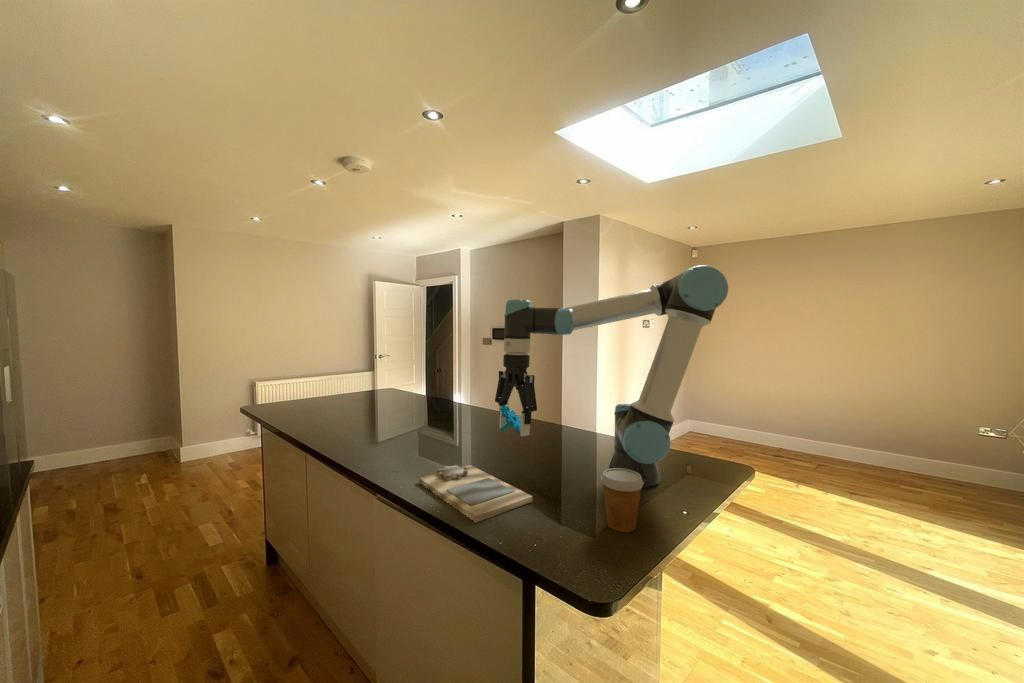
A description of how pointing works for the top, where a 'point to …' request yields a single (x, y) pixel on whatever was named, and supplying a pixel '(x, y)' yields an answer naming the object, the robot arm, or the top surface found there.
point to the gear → (511, 419)
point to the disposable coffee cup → (621, 498)
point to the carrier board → (474, 491)
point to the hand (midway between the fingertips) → (513, 431)
